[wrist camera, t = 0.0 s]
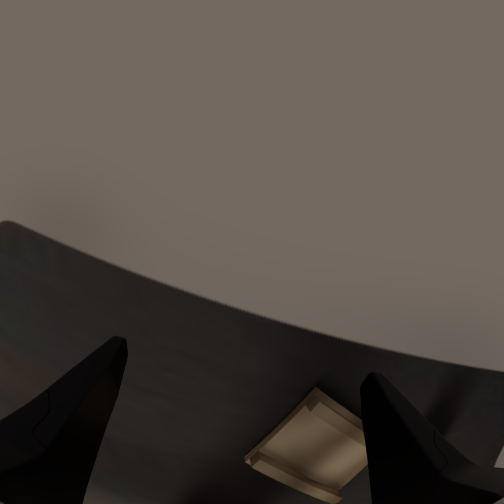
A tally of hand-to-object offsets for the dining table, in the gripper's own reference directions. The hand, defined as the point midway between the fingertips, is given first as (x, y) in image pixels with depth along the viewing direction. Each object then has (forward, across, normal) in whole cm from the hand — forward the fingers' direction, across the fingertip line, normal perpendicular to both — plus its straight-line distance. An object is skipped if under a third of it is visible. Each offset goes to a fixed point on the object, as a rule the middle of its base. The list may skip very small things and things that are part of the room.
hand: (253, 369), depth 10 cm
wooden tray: (+5, -11, +19) cm, 23 cm away
